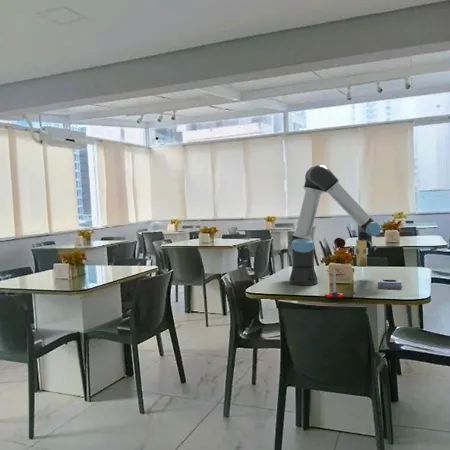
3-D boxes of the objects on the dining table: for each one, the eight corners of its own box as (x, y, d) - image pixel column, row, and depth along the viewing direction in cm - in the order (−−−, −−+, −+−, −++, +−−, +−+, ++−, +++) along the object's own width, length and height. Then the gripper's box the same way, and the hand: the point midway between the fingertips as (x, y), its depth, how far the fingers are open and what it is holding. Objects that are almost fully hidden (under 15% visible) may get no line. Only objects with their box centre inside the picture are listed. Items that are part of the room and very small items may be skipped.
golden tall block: (356, 266, 244) (355, 240, 243) (357, 265, 248) (356, 240, 248) (366, 266, 242) (366, 240, 241) (367, 265, 247) (366, 240, 246)
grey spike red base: (324, 295, 229) (325, 298, 220) (324, 268, 229) (325, 270, 220) (342, 295, 228) (344, 298, 219) (342, 268, 228) (343, 270, 218)
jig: (377, 288, 239) (377, 282, 239) (378, 284, 248) (378, 278, 248) (401, 288, 235) (401, 282, 235) (401, 285, 245) (401, 279, 245)
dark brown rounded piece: (326, 268, 307) (325, 237, 305) (349, 268, 306) (349, 236, 305) (330, 272, 292) (329, 239, 291) (354, 271, 291) (354, 238, 290)
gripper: (381, 253, 259) (379, 259, 237) (347, 253, 265) (342, 259, 243) (381, 239, 258) (379, 244, 236) (346, 239, 264) (342, 244, 243)
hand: (360, 251), depth 240 cm, fingers closed on golden tall block, 5 cm apart
